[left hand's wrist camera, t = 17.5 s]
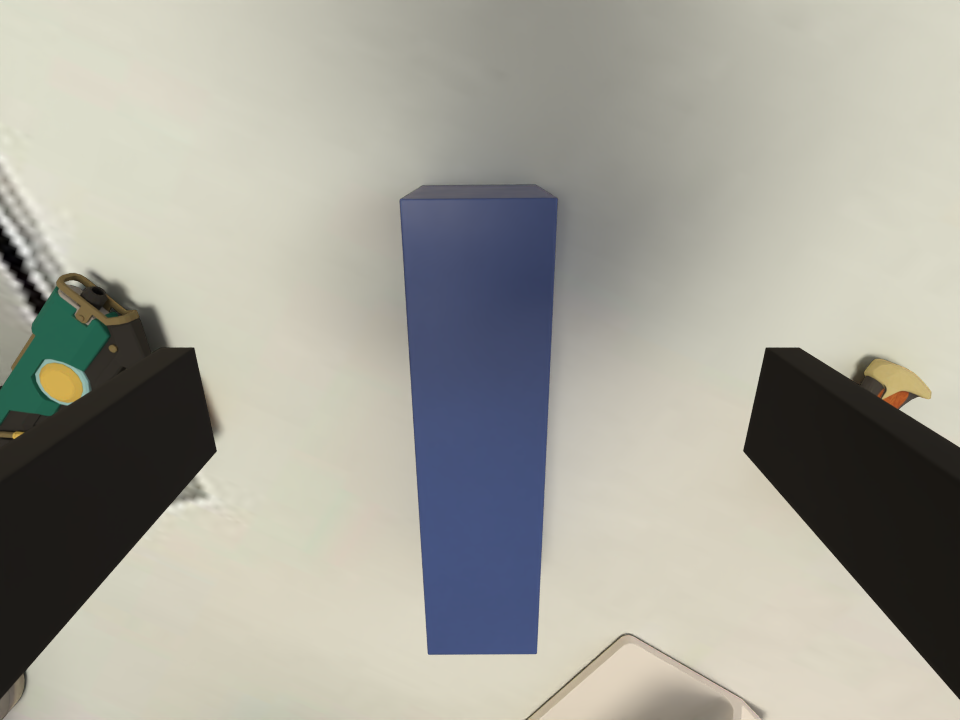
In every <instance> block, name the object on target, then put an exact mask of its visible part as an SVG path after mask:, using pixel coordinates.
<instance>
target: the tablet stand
mask: <svg viewBox="0 0 960 720" xmlns="http://www.w3.org/2000/svg"><path fill="white" fill-rule="evenodd" d="M528 720H762V719H761V718H760V717H759V716H758V715H757V714H756V713H755V712H754V711H753V710H752V709H751V708H750V707H749V706H748V705H747V704H746V703H745V702H744V701H743V700H742V699H741V698H739V697H737V696H736V695H734V694H732V693H731V692H729V691H727V690H725V689H724V688H722V687H720V686H718V685H717V684H715V683H713V682H711V681H710V680H708V679H706V678H705V677H703V676H701V675H699V674H698V673H696V672H694V671H692V670H691V669H689V668H687V667H685V666H684V665H682V664H680V663H678V662H677V661H675V660H673V659H672V658H670V657H668V656H666V655H665V654H663V653H661V652H659V651H658V650H656V649H654V648H652V647H651V646H649V645H647V644H646V643H644V642H642V641H640V640H639V639H637V638H635V637H633V636H631V635H626V636H623V637H621V638H620V639H619V640H617V641H616V642H615V643H614V644H613V645H612V646H611V647H609V648H608V649H607V650H606V651H605V652H604V653H603V654H601V655H600V656H599V657H598V658H597V659H596V660H595V661H594V662H592V663H591V664H590V665H589V666H588V667H587V668H586V669H584V670H583V671H582V672H581V673H580V674H579V675H578V676H577V677H575V678H574V679H573V680H572V681H571V682H570V683H569V684H567V685H566V686H565V687H564V688H563V689H562V690H561V691H559V692H558V693H557V694H556V695H555V696H554V697H553V698H552V699H550V700H549V701H548V702H547V703H546V704H545V705H544V706H542V707H541V708H540V709H539V710H538V711H537V712H536V713H534V714H533V715H532V716H531V717H530V718H529V719H528Z"/></svg>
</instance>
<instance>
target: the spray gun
mask: <svg viewBox="0 0 960 720" xmlns="http://www.w3.org/2000/svg"><path fill="white" fill-rule="evenodd" d="M69 280H75V281H78V282H80V283H82V284H83V285H84V286H86V288H85V289H84V290H83V291H82V290H81V289H80V288H79V287H76V286H72V285H66V284H65V283H64V282H66V281H69ZM56 284H57V286H56V287H55V289H54V291H53V292H52V294H51V295H50V297H49V298H48V300H47V301H46V303H45V305H44V306H43V308H42V309H41V311H40V312H39V314H38V316H37V317H36V319H35V320H34V322H33V323H32V333H33V334H32V335H31V337H30V339H29V340H28V342H27V343H26V345H25V346H24V348H23V350H22V351H21V353H20V354H19V356H18V357H17V359H16V360H15V362H14V364H13V365H12V367H11V369H12V370H13V371H12V373H11V374H10V376H9V377H8V379H7V380H6V382H5V383H4V385H3V386H0V447H2V446H3V445H5V444H7V443H8V442H10V441H11V440H13V439H15V438H16V437H18V436H20V435H21V434H23V433H24V432H26V431H28V430H29V429H31V428H32V427H34V426H36V425H37V424H39V423H40V422H42V421H44V420H45V419H47V418H48V417H50V416H52V415H53V414H55V413H56V412H58V411H60V410H61V409H63V408H65V407H66V406H68V405H69V404H71V403H73V402H74V401H76V400H77V399H79V398H81V397H82V396H84V395H85V394H87V393H89V392H90V391H92V390H93V389H95V388H97V387H98V386H100V385H102V384H103V383H105V382H106V381H108V380H110V379H111V378H113V377H114V376H116V375H118V374H119V373H121V372H122V371H124V370H125V369H126V368H129V367H130V366H132V365H134V364H135V363H137V362H138V361H140V360H142V359H143V358H145V357H147V356H148V355H150V354H151V351H150V348H149V345H148V342H147V339H146V336H145V333H144V330H143V327H142V324H141V321H140V319H139V314H138V312H137V310H128V311H127V310H126V309H124V308H123V307H122V306H121V305H119V304H118V303H117V302H116V301H114V300H113V299H112V298H111V297H109V296H108V295H107V294H106V292H105V291H104V290H103V289H101V288H100V287H97V286H96V285H94V284H93V283H92V282H91V281H89V280H88V279H87V278H86V277H84V276H82V275H80V274H76V273H69V274H65V275H62V276H61V277H59V279H58V280H57V282H56ZM111 308H113V309H115V310H116V311H117V312H118V313H120V314H121V315H122V316H118V314H117V313H116V312H111V313H109V311H110V309H111Z"/></svg>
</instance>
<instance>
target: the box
mask: <svg viewBox="0 0 960 720" xmlns="http://www.w3.org/2000/svg"><path fill="white" fill-rule="evenodd" d="M557 204H558V199H557V198H556V197H555V196H553V195H552V194H550V193H548V192H547V191H545V190H544V189H542V188H540V187H539V186H537V185H423V186H421V187H419V188H418V189H416V190H414V191H413V192H411V193H410V194H408V195H406V196H405V197H403V198H401V199H400V214H401V230H402V246H403V262H404V278H405V295H406V311H407V327H408V343H409V359H410V375H411V391H412V407H413V423H414V439H415V455H416V471H417V487H418V503H419V519H420V535H421V552H422V568H423V584H424V600H425V616H426V632H427V648H428V654H429V655H454V654H537V639H538V618H539V596H540V574H541V552H542V530H543V509H544V487H545V465H546V443H547V422H548V400H549V378H550V356H551V335H552V313H553V291H554V269H555V247H556V226H557Z"/></svg>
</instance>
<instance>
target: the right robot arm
mask: <svg viewBox="0 0 960 720" xmlns="http://www.w3.org/2000/svg"><path fill="white" fill-rule="evenodd" d="M24 682H25V679H24V673H23V674H22V675H21V676H20V678H19V679H18V680H17V681H16V682H15V683H14V684H13V686H12V687H11V688H10V689H9V690H8V691H7V692H6V694H5V695H4V696H3V697H2V698H1V699H0V720H2V719H3V718H4V717H5V716H6V715H7V713H8V712H9V711H10V710H11V709H12V707H13V706H14V705H15V704H16V703H17V701H18V700H19V699H20V697H21V695H22V693H23V690H24Z"/></svg>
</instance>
